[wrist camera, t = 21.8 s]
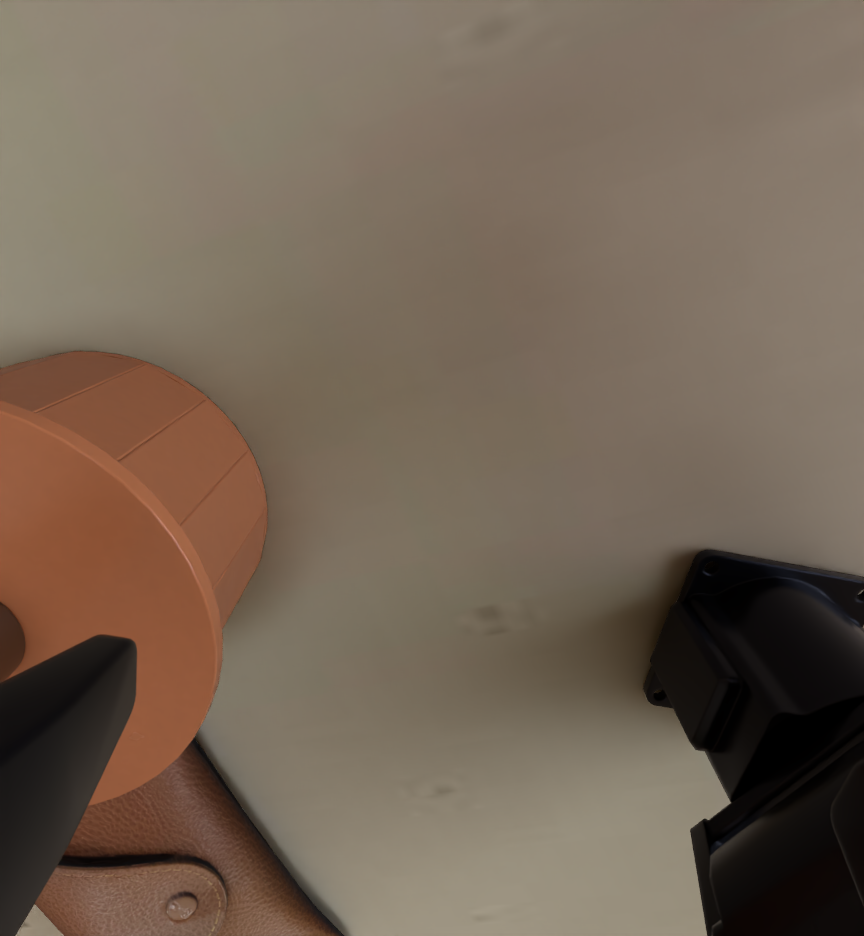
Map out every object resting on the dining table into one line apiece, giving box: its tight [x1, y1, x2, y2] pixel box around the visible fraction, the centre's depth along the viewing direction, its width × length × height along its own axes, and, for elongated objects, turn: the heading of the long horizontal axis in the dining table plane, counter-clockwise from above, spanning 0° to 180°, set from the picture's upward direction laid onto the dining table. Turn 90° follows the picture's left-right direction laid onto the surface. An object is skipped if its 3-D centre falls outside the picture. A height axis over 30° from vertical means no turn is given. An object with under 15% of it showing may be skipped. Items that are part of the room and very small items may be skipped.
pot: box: [0, 351, 268, 629], centre depth 18 cm, size 10×10×7 cm
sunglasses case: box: [35, 738, 344, 936], centre depth 25 cm, size 18×7×7 cm, turn 24°
